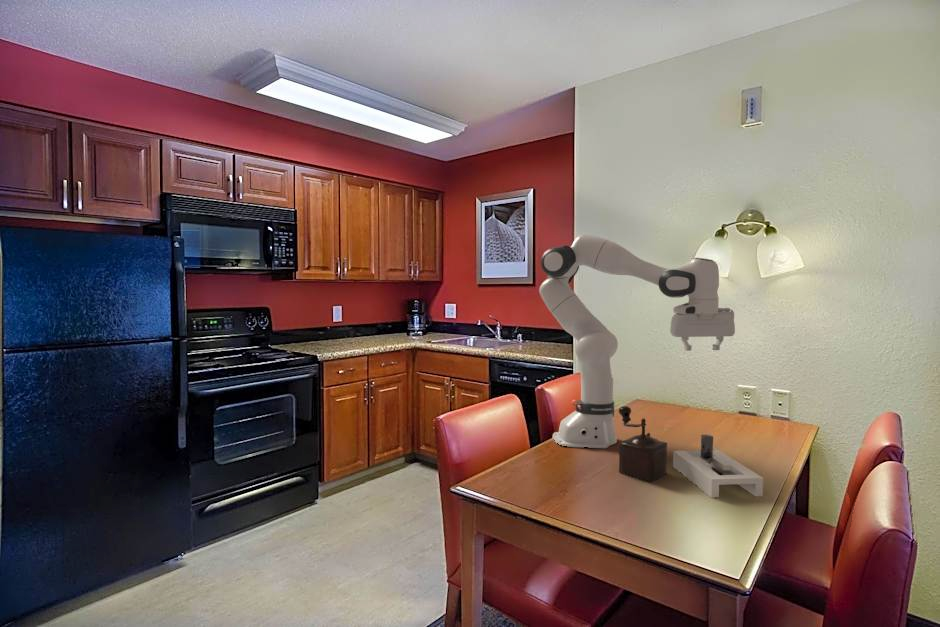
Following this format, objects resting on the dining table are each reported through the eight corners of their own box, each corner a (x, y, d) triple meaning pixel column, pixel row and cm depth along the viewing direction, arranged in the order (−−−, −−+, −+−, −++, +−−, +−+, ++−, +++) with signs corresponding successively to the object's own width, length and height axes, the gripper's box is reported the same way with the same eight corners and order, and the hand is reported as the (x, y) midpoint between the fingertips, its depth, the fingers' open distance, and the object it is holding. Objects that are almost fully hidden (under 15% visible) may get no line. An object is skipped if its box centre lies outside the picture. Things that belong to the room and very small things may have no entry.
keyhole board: (711, 497, 133) (711, 479, 133) (673, 466, 155) (673, 450, 155) (762, 496, 134) (763, 477, 134) (717, 465, 156) (717, 449, 156)
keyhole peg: (702, 478, 147) (703, 439, 146) (693, 471, 152) (694, 433, 151) (719, 477, 147) (720, 438, 146) (709, 471, 152) (711, 433, 151)
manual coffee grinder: (669, 472, 151) (670, 413, 149) (650, 483, 143) (652, 420, 142) (622, 459, 162) (623, 403, 161) (602, 468, 154) (603, 410, 153)
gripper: (728, 307, 169) (727, 348, 169) (668, 307, 167) (667, 349, 168) (739, 308, 162) (738, 351, 163) (677, 308, 161) (676, 352, 162)
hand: (702, 350), depth 166 cm, fingers open, 8 cm apart
